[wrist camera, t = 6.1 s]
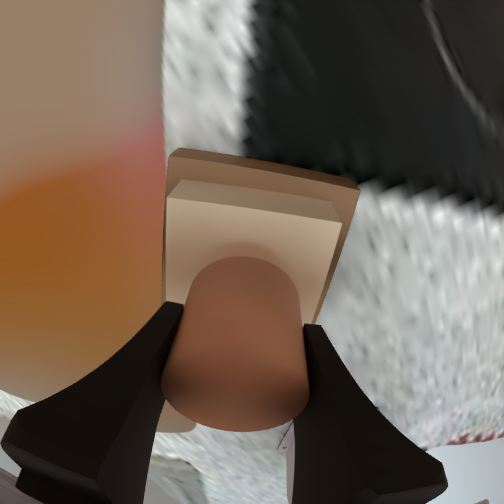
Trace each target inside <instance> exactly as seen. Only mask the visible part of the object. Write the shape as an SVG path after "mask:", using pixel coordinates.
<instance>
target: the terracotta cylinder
mask: <svg viewBox="0 0 504 504" xmlns="http://www.w3.org/2000/svg"><path fill="white" fill-rule="evenodd" d="M161 388H162V392H163V394H164V396H165V398H166V400H167V401H168V402H169V403H170V405H171V406H172V407H173V408H174V409H175V410H177V411H178V412H179V413H181V414H182V415H184V416H185V417H187V418H188V419H190V420H192V421H194V422H197V423H199V424H202V425H204V426H208V427H211V428H215V429H219V430H225V431H234V432H252V431H261V430H266V429H270V428H274V427H277V426H280V425H283V424H285V423H287V422H289V421H290V420H292V419H294V418H295V417H296V416H298V415H299V414H300V413H301V412H302V411H303V410H304V408H305V407H306V405H307V403H308V400H309V396H310V392H309V381H308V371H307V362H306V352H305V343H304V335H303V326H302V318H301V310H300V302H299V294H298V291H297V288H296V286H295V284H294V282H293V281H292V279H291V278H290V277H289V276H288V275H287V273H285V272H284V271H283V270H282V269H281V268H279V267H277V266H276V265H274V264H272V263H270V262H268V261H265V260H262V259H259V258H254V257H247V256H235V257H228V258H224V259H220V260H218V261H215V262H213V263H211V264H209V265H208V266H206V267H205V268H204V269H202V270H201V271H200V272H199V273H198V274H197V276H196V277H195V278H194V280H193V282H192V284H191V287H190V290H189V293H188V296H187V299H186V302H185V305H184V308H183V312H182V315H181V318H180V322H179V325H178V328H177V331H176V334H175V336H174V339H173V342H172V345H171V348H170V351H169V355H168V358H167V361H166V364H165V368H164V371H163V374H162V378H161Z"/></svg>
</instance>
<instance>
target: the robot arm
mask: <svg viewBox="0 0 504 504" xmlns="http://www.w3.org/2000/svg"><path fill="white" fill-rule="evenodd" d="M183 308H184V304H181V303H176V302H170V301H166V302H164V303H163V305H162V306H161V307H160V308H159V309H158V311H157V312H156V313H155V314H154V315H153V316H152V318H151V319H150V320H149V321H148V322H147V323H146V325H144V326H143V327H142V328H141V329H140V330H139V332H138V333H137V334H136V335H135V336H134V337H133V338H132V339H131V340H130V341H129V342H127V343H126V344H125V345H124V346H123V347H122V348H121V349H120V350H119V351H118V352H116V353H115V354H114V355H113V356H112V357H110V358H109V359H108V360H107V361H106V362H104V363H103V364H102V365H100V366H99V367H98V368H96V369H95V370H94V371H92V372H91V373H89V374H88V375H86V376H85V377H83V378H82V379H80V380H79V381H77V382H76V383H74V384H72V385H71V386H69V387H67V388H65V389H64V390H61V391H60V392H58V393H56V394H54V395H52V396H50V397H48V398H46V399H44V400H42V401H39V402H37V403H35V404H32V405H30V406H27V407H25V408H22V409H20V410H18V411H17V412H16V414H15V415H14V417H13V418H12V420H11V422H10V424H9V426H8V428H7V430H6V432H5V434H4V436H3V438H2V440H1V443H0V444H1V446H2V449H3V450H4V451H5V452H6V453H7V455H8V456H9V457H10V458H11V459H12V460H14V462H15V463H16V464H18V465H19V466H20V467H21V468H22V469H21V472H20V474H19V477H16V476H14V475H12V474H11V473H9V472H7V471H5V470H4V469H2V468H0V504H143V500H144V492H145V486H146V480H147V474H148V468H149V463H150V457H151V452H152V447H153V442H154V437H155V433H156V428H157V424H158V421H159V417H160V414H161V411H162V408H163V405H164V402H165V400H166V398H165V396H164V394H163V392H162V388H161V378H162V374H163V371H164V368H165V364H166V361H167V358H168V355H169V351H170V348H171V345H172V342H173V339H174V336H175V334H176V331H177V328H178V325H179V322H180V318H181V315H182V312H183ZM303 335H304V343H305V352H306V362H307V371H308V381H309V392H310V396H309V400H308V403H307V405H306V407H305V408H304V410H303V411H302V412H301V413H300V414H299V415H298V416H296V417H295V418H294V419H293V423H292V425H291V426H290V428H289V430H288V432H287V433H286V435H285V437H284V439H283V440H282V442H281V444H280V445H279V447H278V452H279V453H286V464H287V499H288V502H289V504H426V503H427V502H429V501H431V500H432V499H434V498H436V497H437V496H439V495H440V494H442V493H443V492H444V491H445V490H446V489H447V487H448V482H447V478H446V475H445V471H444V468H443V465H442V463H441V462H440V461H438V460H437V459H435V458H434V457H432V456H431V455H429V454H428V453H426V452H425V451H423V450H422V449H421V448H419V447H418V446H417V445H415V444H414V443H413V442H412V441H410V440H409V439H408V438H407V437H406V436H404V435H403V434H402V433H401V432H400V431H399V430H398V429H397V428H396V427H395V426H393V425H392V424H391V423H390V422H389V421H388V420H387V419H386V418H385V417H384V416H383V415H382V413H381V412H380V410H379V409H377V408H376V407H375V406H374V404H373V403H372V402H371V401H370V400H369V399H368V397H367V396H366V395H365V394H364V392H363V391H362V390H361V388H360V387H359V386H358V384H357V383H356V381H355V380H354V379H353V377H352V376H351V374H350V373H349V371H348V369H347V368H346V366H345V365H344V363H343V362H342V360H341V359H340V357H339V355H338V354H337V352H336V350H335V349H334V347H333V345H332V343H331V342H330V340H329V338H328V337H327V335H326V333H325V331H324V330H323V328H322V326H321V325H315V324H307V323H304V326H303ZM476 504H489V501H488V500H487V499H485V500H483V501H481V502H478V503H476Z"/></svg>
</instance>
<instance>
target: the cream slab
mask: <svg viewBox="0 0 504 504" xmlns="http://www.w3.org/2000/svg"><path fill="white" fill-rule="evenodd" d="M341 226H342V222H341V220H340V218H339V216H338V214H337V212H336V210H335V208H334V206H333V204H332V202H331V201H328V200H322V199H316V198H311V197H305V196H299V195H293V194H287V193H281V192H274V191H268V190H261V189H254V188H247V187H240V186H233V185H226V184H218V183H210V182H202V181H194V180H185V179H182V180H181V181H180V182H179V183H178V184H177V186H176V187H175V188H174V189H173V190H172V192H171V193H170V194H169V195H168V197H167V206H166V301H170V302H176V303H181V304H184V305H185V302H186V299H187V296H188V293H189V290H190V287H191V284H192V282H193V280H194V278H195V277H196V276H197V274H198V273H199V272H200V271H201V270H202V269H204V268H205V267H206V266H208V265H209V264H211V263H213V262H215V261H218V260H220V259H224V258H228V257H235V256H247V257H254V258H259V259H262V260H265V261H268V262H270V263H272V264H274V265H276V266H277V267H279V268H281V269H282V270H283V271H284V272H285V273H287V275H288V276H289V277H290V278H291V279H292V281H293V282H294V284H295V286H296V288H297V291H298V294H299V302H300V310H301V318H302V326H304V323H307V324H311V323H312V320H313V317H314V314H315V311H316V308H317V305H318V302H319V299H320V296H321V293H322V289H323V286H324V283H325V280H326V277H327V274H328V270H329V267H330V264H331V260H332V257H333V254H334V250H335V247H336V244H337V240H338V237H339V233H340V230H341Z"/></svg>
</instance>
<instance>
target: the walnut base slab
mask: <svg viewBox="0 0 504 504" xmlns="http://www.w3.org/2000/svg"><path fill="white" fill-rule="evenodd" d="M182 179H185V180H194V181H202V182H210V183H218V184H226V185H233V186H240V187H247V188H254V189H261V190H268V191H274V192H281V193H287V194H293V195H299V196H305V197H311V198H316V199H322V200H328V201H331V202H332V204H333V206H334V208H335V210H336V212H337V214H338V216H339V218H340V220H341V222H342V226H341V230H340V233H339V237H338V240H337V244H336V247H335V250H334V254H333V257H332V260H331V264H330V267H329V270H328V274H327V277H326V280H325V283H324V286H323V289H322V293H321V296H320V299H319V302H318V305H317V308H316V311H315V314H314V317H313V320H312V323H311V324H315V322H316V320H317V317H318V315H319V312H320V309H321V307H322V304H323V301H324V299H325V296H326V293H327V291H328V288H329V285H330V282H331V280H332V277H333V274H334V271H335V268H336V266H337V263H338V260H339V257H340V254H341V251H342V248H343V245H344V242H345V239H346V236H347V233H348V230H349V227H350V224H351V221H352V217H353V214H354V211H355V208H356V205H357V201H358V198H359V195H360V189H359V188H358V187H357V186H356V185H355V183H354V182H353V181H352V180H351V179H348V178H344V177H340V176H336V175H331V174H327V173H322V172H318V171H313V170H309V169H304V168H299V167H294V166H289V165H284V164H279V163H274V162H268V161H263V160H257V159H251V158H246V157H240V156H233V155H227V154H221V153H214V152H207V151H200V150H193V149H185V148H178V149H177V150H176V151H174V152H173V153H172V154H171V155H169V159H168V170H167V182H166V195H165V211H164V230H163V253H162V305H163V303H164V302H166V206H167V197H168V195H169V194H170V193H171V192H172V190H173V189H174V188H175V187H176V186H177V184H178V183H179V182H180V181H181V180H182Z"/></svg>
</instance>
